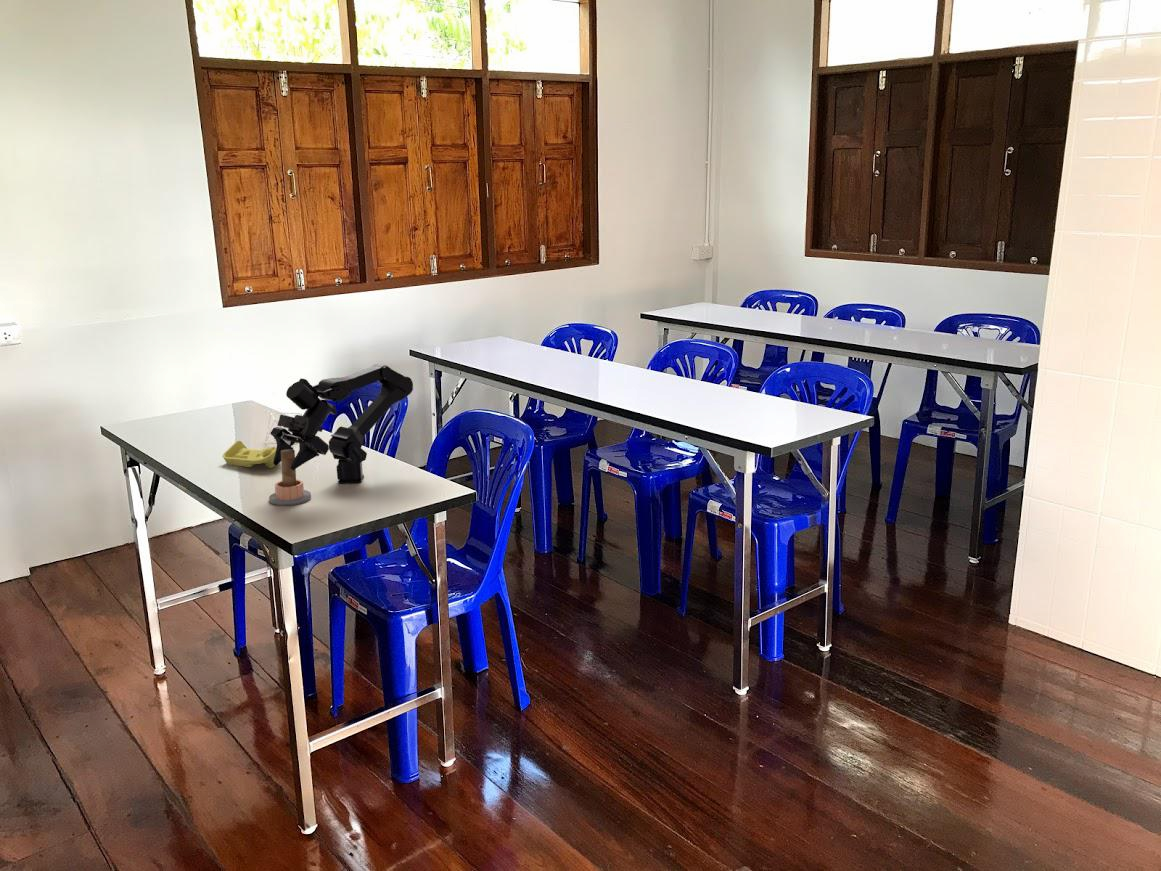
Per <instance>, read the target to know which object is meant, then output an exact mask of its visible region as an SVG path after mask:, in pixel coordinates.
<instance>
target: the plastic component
mask: <svg viewBox="0 0 1161 871" xmlns="http://www.w3.org/2000/svg"><path fill="white" fill-rule="evenodd" d="M276 448H277V446H269V447H266V448H265V447H264V449H255V448H248V447H246V445H245V443H243V442H242V440H236V441H235V442H234V443H233V444H232V445H231V446H230V447H229V448H228V449H227V450H225V452H224V453H223V454H222V458H223V459H224V461H225V463H226V465H228V466H237V467H244V468H252V467H253V466H254V465H260V464H265V465H266V466H265V467H267V468H269V469H271V468H273V467H274V468H275V466H276V465H274V464H273V461H274V457H275V453H276Z"/></svg>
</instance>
